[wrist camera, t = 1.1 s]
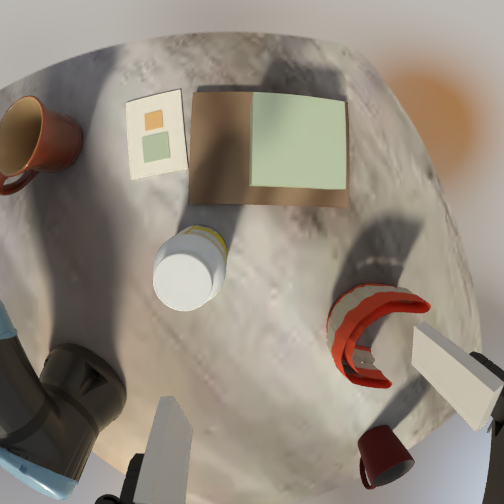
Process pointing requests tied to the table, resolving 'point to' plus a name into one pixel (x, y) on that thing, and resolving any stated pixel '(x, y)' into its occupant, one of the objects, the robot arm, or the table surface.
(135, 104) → the page
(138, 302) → the table surface
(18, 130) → the mug
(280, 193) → the plate
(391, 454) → the mug
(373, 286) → the denture model
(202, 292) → the pill bottle
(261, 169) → the brick
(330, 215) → the table surface
